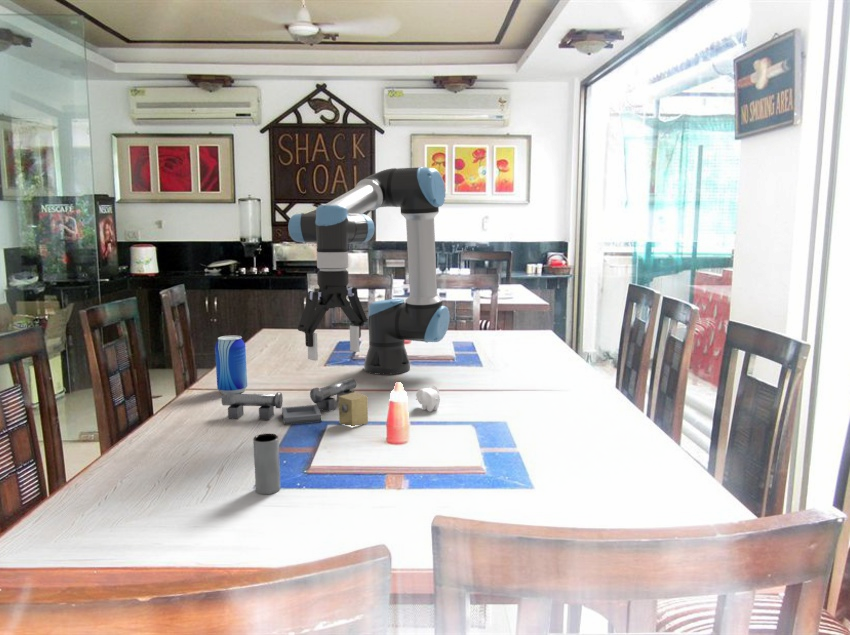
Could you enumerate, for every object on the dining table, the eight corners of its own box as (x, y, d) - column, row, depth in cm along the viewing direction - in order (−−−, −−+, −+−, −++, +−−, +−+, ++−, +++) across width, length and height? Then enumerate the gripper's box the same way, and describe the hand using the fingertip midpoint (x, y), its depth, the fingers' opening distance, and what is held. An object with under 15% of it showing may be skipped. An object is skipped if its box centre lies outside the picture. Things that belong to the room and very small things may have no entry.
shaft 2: (322, 414, 169) (321, 389, 168) (309, 411, 172) (309, 387, 171) (359, 400, 181) (358, 377, 180) (346, 397, 184) (346, 375, 183)
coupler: (355, 418, 165) (355, 392, 164) (368, 423, 162) (368, 395, 161) (338, 424, 161) (337, 396, 160) (351, 428, 158) (350, 400, 157)
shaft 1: (283, 414, 168) (282, 390, 167) (278, 420, 164) (277, 395, 163) (227, 413, 170) (226, 389, 169) (221, 419, 165) (219, 394, 164)
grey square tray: (317, 411, 171) (317, 404, 171) (321, 421, 163) (321, 414, 163) (282, 414, 169) (281, 407, 169) (284, 425, 160) (284, 418, 160)
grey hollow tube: (257, 485, 125) (255, 433, 124) (281, 484, 126) (279, 432, 124) (253, 495, 121) (251, 442, 119) (278, 494, 121) (276, 441, 120)
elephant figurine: (427, 403, 178) (426, 382, 177) (448, 409, 172) (448, 387, 171) (408, 408, 173) (408, 386, 172) (430, 415, 168) (430, 392, 167)
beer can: (239, 396, 186) (236, 340, 183) (212, 394, 188) (208, 339, 185) (252, 388, 194) (250, 335, 192) (226, 386, 196) (223, 334, 193)
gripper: (359, 265, 170) (361, 346, 174) (281, 271, 152) (283, 361, 155) (380, 267, 165) (381, 349, 169) (301, 273, 147) (303, 365, 150)
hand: (334, 355), depth 162 cm, fingers open, 13 cm apart
